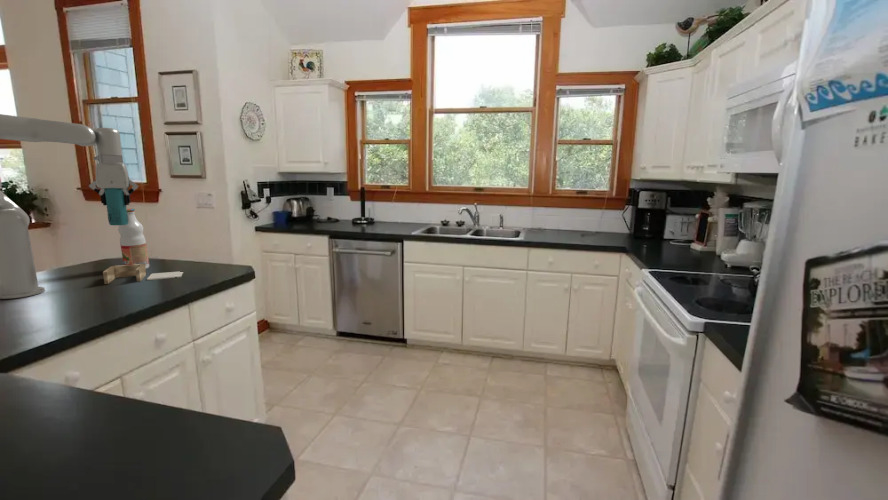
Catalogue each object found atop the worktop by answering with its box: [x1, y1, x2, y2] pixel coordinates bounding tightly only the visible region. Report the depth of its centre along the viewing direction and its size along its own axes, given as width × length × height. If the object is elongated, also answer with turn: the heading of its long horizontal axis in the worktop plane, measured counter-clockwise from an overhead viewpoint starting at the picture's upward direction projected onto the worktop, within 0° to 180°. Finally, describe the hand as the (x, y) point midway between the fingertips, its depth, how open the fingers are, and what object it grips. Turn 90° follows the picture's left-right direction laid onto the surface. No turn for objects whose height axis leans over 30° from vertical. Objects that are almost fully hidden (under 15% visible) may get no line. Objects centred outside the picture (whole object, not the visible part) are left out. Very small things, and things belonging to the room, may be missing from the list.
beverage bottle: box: [104, 181, 129, 226], centre depth 164 cm, size 6×7×20 cm
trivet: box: [146, 271, 184, 281], centre depth 176 cm, size 12×10×1 cm
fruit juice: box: [117, 208, 150, 269], centre depth 184 cm, size 9×9×28 cm
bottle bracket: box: [102, 264, 147, 285], centre depth 169 cm, size 12×12×5 cm
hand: (116, 204), depth 164 cm, fingers closed on beverage bottle, 6 cm apart
